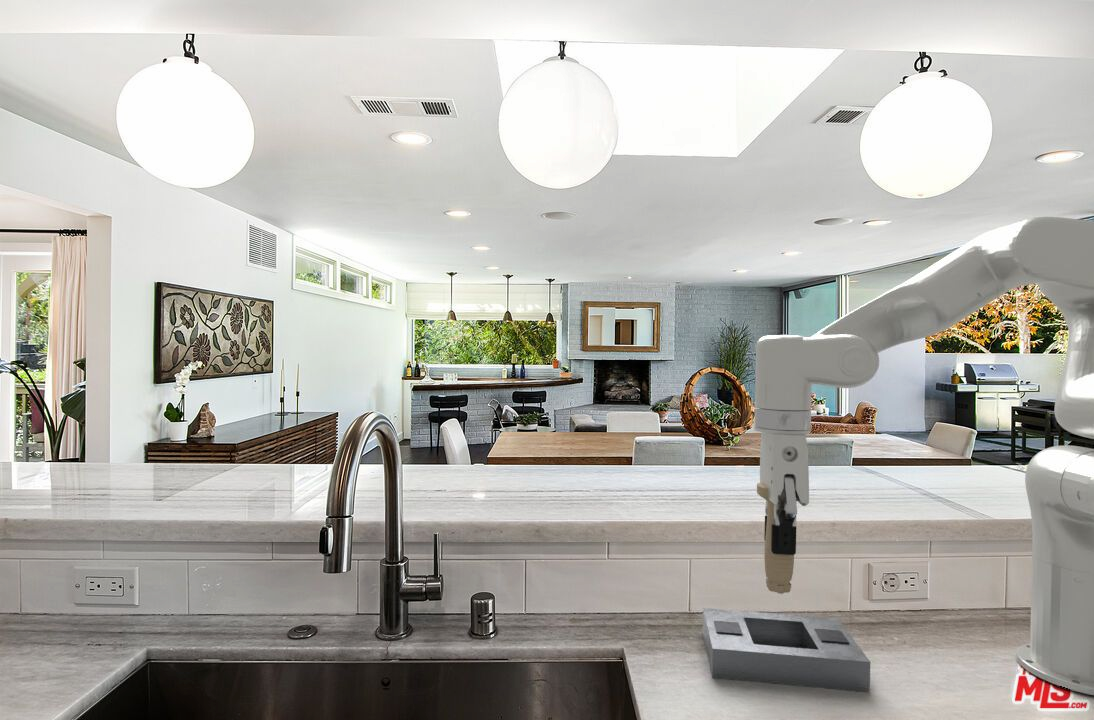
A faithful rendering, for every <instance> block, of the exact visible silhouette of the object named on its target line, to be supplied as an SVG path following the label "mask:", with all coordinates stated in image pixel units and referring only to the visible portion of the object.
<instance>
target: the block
mask: <svg viewBox="0 0 1094 720" xmlns="http://www.w3.org/2000/svg"><path fill="white" fill-rule="evenodd" d="M702 637H703V641H704V646H705V650H706V655H708V656H707V660H708V665H709V669H710V674H711V678H712V679H724V680H733V681H735V680H736V681H744V682H754V683H755V682H756V683H768V684H776V685H787V686H788V685H789V686H796V687H797V686H798V687H808V688H819V689H828V690H829V689H830V690H839V691H840V690H841V691H853V692H861V693H871V660H870V659H869V658H868V657H867V655H866V654H865V652H864V651H863V650H862V648H861V647H860V645H858V643H857V642H856V640H855V639H854V638H853V636H852V634H850V632H849V631H848V629H847V628H846V627H845V626H844V624H843V623H842V622H841V620H840V619H839V617H837V618H836V617H828V616H827V617H825V616H814V615H813V616H811V615H798V614H785V613H775V612H774V613H773V612H772V613H771V612H759V611H748V610H747V611H746V610H736V609H735V610H734V609H721V608H706V607H705V608H704V607H702Z"/></svg>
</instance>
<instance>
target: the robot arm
mask: <svg viewBox="0 0 1094 720" xmlns="http://www.w3.org/2000/svg"><path fill="white" fill-rule="evenodd" d="M1035 284H1036V285H1037V287H1038V288H1039V290H1040V291H1041V293H1042V294H1043V295H1044V296H1045V297H1046V298H1047V299H1048V300H1049V301H1050V302H1051V303H1052V304H1053V305H1054V307H1056V308H1057V310H1058V311H1059V313H1061V315H1062V317H1063V319H1064V321H1065V323H1066V325H1067V330H1068V339H1067V340H1068V342H1067V348H1066V353H1065V359H1064V362H1063V366H1062V370H1061V375H1060V380H1059V384H1058V387H1057V393H1056V397H1055V402H1054V410H1053V411H1054V417H1055V419H1056V422H1057V423H1058V424H1059V426H1060V427H1061V428H1062V429H1064V430H1066V431H1067V432H1069V433H1070V434H1073V435H1077V436H1079V437H1083V438H1088V439H1091V440H1094V221H1092V220H1086V219H1085V220H1084V219H1078V218H1071V217H1070V218H1068V217H1061V216H1060V217H1059V216H1034V217H1029V218H1026V219H1024V220H1023V219H1022V220H1019V221H1016V222H1014V223H1010V224H1007V225H1004V226H1003V225H1002V226H1000V227H997V228H994V229H991V230H988V231H986V232H983V233H982V234H980V235H978V236H977V237H975V238H973V239H971V240H969V241H968V242H966V243H965V244H963V245H962V246H960V247H958V248H957V249H956V250H954V251H952V252H951V253H949V254H948V255H946V256H945V257H943V258H942V259H940V260H938V261H937V262H935V263H933V264H932V265H931V266H929V267H928V268H925V269H924V270H922V271H921V272H919V273H917V274H916V275H915V276H913V277H911V278H909V279H907V280H906V281H905V282H902V283H901V284H899V285H897V286H894V287H893V288H891V289H890V290H888V291H886V292H885V293H883V294H881V295H879V296H878V297H876V298H874V299H873V300H870V301H869V302H867V303H865V304H864V305H861V306H860V307H858V308H856V309H854V310H852V311H851V312H849V313H847V314H845V315H844V316H842V317H840V318H838V319H837V320H835V321H833V322H832V323H830V324H829V325H827V326H825V327H824V328H822V329H820V330H819V331H818V332H816V333H815V334H813V335H812V336H810V337H807V336H803V335H794V334H791V335H790V334H789V335H788V334H779V335H777V334H774V335H772V334H770V335H764V336H762V337H760V338H759V339H758V340H757V342H756V344H755V387H754V388H755V389H754V426H753V427H754V429H753V430H754V431H756V432H759V433H761V436H760V437H761V438H760V452H759V453H760V455H759V457H760V458H759V483H763V485H764V486H765V487H766V488H767V489H768V496H769V498H768V499H769V500H770V501H771V502H772V503H774V524H772V529H771V551H772V553H774V554H784V555H794V556H795V555H796V553H797V514H798V505H797V502H798V504H800V505H801V506H802V507H806V506H808V505H809V503H810V477H809V476H810V474H809V473H810V472H809V470H810V469H809V454H808V453H809V452H808V443H807V442H808V441H807V436H806V435H809V434H811V432H812V431H811V429H812V428H811V426H812V387H813V385H819V386H828V387H833V388H841V389H852V388H857V387H860V386H863V385H865V384H866V383H868V382H870V381H871V380H872V379H873V378H874V376H876V374H877V372H878V370H879V367H880V356H879V353H881V352H883V351H885V350H887V349H889V348H892V347H895V346H898V345H901V344H904V343H910V342H913V341H916V340H921V339H925V338H928V337H931V336H934V335H936V334H939V333H941V332H944V331H946V330H948V329H950V328H952V327H953V326H955V325H957V324H958V323H959V322H961V321H963V320H964V319H966V318H968V317H969V316H971V315H973V314H974V313H975V312H977V311H979V310H980V309H982V308H984V307H985V306H987V305H988V304H990V303H992V302H993V301H995V300H996V299H998V298H1000V297H1002V296H1003V295H1005V294H1006V293H1008V292H1009V291H1011V290H1014V289H1016V288H1018V287H1021V286H1028V285H1035ZM1024 474H1025V475H1024V476H1025V477H1024V483H1025V490H1026V494H1027V495H1026V496H1027V500H1028V505H1029V510H1030V517H1031V528H1032V529H1031V531H1032V532H1031V533H1032V541H1031V542H1032V543H1031V544H1032V547H1031V550H1032V551H1031V585H1030V586H1031V587H1030V588H1031V589H1030V592H1031V593H1030V595H1031V596H1030V597H1031V598H1030V631H1029V633H1030V637H1029V638H1030V639H1029V640H1030V641H1029V643H1027V644H1022V645H1019V646H1018V647H1017V649H1016V651H1015V652H1016V653H1015V658H1016V661H1017V662H1018V664H1019V665H1020V666H1021V667H1023V668H1024V669H1025V670H1026V671H1028V672H1029V673H1030V674H1032V675H1034V676H1036V677H1037V678H1039V679H1041V680H1043V681H1046V682H1048V683H1050V684H1053V685H1055V686H1058V687H1060V686H1062V687H1061V688H1063V687H1065V688H1064V689H1066V688H1068V689H1067V690H1069V689H1070V691H1072V692H1073V691H1074V692H1077V693H1081V694H1084V695H1085V694H1086V695H1088V696H1089V695H1090V696H1094V448H1090V447H1084V446H1079V445H1078V446H1077V445H1056V446H1050V447H1047V448H1044V449H1043V450H1041V451H1039V452H1038V453H1036V454H1035V455H1034V456H1033V457H1032V458H1031V459H1030V461H1029V463H1028V464H1027V467H1026V468H1025V473H1024ZM796 491H797V494H798V497H799V498H797V497H796ZM778 495H779V498H778ZM779 499H784V500H785V503H778V502H779V501H780V500H779ZM796 499H797V500H798V501H797V502H796ZM779 508H784V510H781V512H779ZM764 511H765V515H764V536H763V538H764V541H765V538H766V527H767V512H768V504H767V500H766V499H765V509H764Z"/></svg>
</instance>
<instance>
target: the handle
mask: <svg viewBox="0 0 1094 720" xmlns="http://www.w3.org/2000/svg"><path fill="white" fill-rule="evenodd" d="M756 493H757V495H758V496H760V497H761V498H762V499H764V500H765V501H766V500H767V504H768V512H767V527H766V538H765V540H764V554H763V556H764V559H763V561H764V570H765V571H764V572H765V577H766V578H765V583H766V587H767V589H768V590H769V592H773V593H777V594H782V595H783V594H785V593H787V594H788V593H790V592H791V589H792V583H791V581H792V579H793V575H794V574H793V573H794V567H795V566H794V564H795V555H784V554H774V553H772V551H771V529H772V524H774V503H772V502H771V501H770V500H769V499H768V498H769V496H768V489H767V488H766V487H765V486H764V485H763V483H760V482H758V483H756ZM796 497H797V498H799V497H798V494H797V491H796ZM778 498H779V495H778ZM779 500H780V501H779V502H778V503H785V500H784V499H779ZM797 502H798V500H797V499H796V503H797ZM781 510H784V508H779V512H781Z"/></svg>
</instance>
